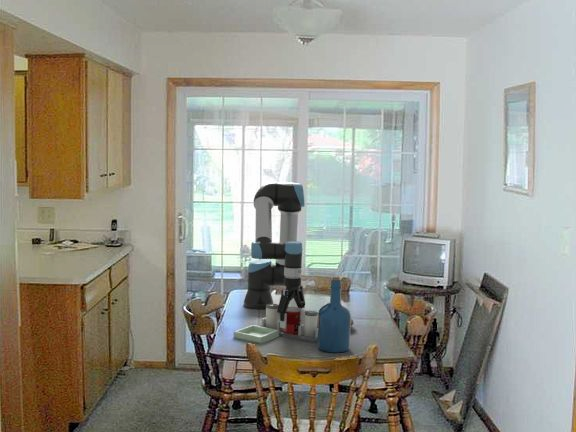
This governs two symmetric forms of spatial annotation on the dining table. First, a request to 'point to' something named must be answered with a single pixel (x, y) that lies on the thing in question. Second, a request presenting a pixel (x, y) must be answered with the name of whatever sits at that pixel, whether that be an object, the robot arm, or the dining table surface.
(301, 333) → the fuse block
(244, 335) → the tray
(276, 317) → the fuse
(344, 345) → the wine bottle
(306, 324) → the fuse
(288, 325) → the canned food
